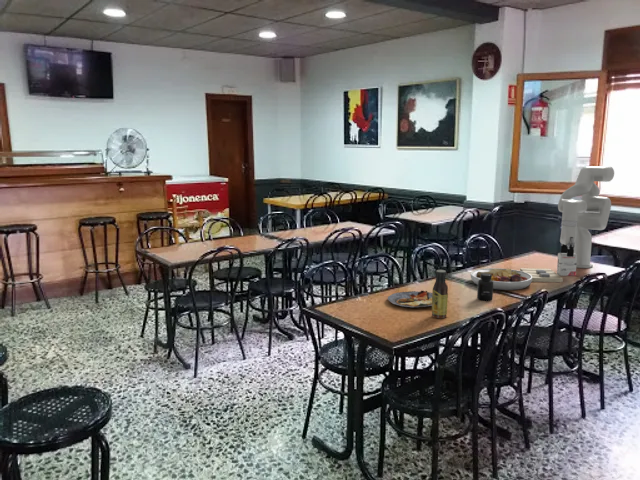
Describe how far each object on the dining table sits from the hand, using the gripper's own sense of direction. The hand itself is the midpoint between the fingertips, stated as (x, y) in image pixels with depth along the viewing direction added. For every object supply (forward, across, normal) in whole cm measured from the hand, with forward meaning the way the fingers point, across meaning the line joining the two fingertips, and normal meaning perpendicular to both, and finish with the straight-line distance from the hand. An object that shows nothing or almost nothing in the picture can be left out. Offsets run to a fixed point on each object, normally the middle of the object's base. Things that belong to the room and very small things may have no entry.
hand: (566, 254), depth 277 cm
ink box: (+11, -1, +1) cm, 11 cm away
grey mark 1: (+10, +6, -14) cm, 18 cm away
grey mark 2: (+10, +12, -14) cm, 21 cm away
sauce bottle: (+15, +78, -74) cm, 109 cm away
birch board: (+12, +5, -14) cm, 19 cm away
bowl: (+13, +21, -38) cm, 46 cm away
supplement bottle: (+14, +51, -51) cm, 74 cm away
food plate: (+15, +58, -83) cm, 103 cm away
